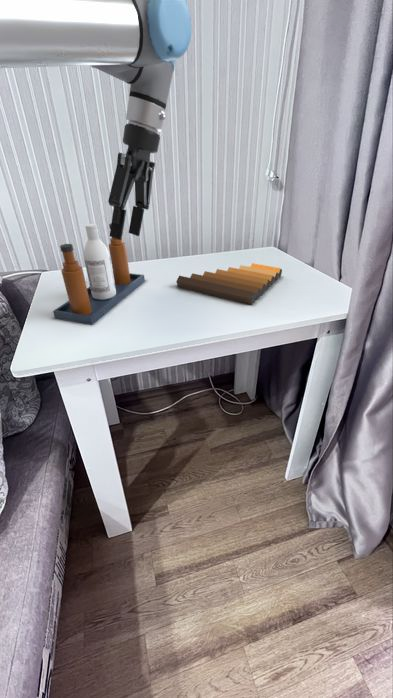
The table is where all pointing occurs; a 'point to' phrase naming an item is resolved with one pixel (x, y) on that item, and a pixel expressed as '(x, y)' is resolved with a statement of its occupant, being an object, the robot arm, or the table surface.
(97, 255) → the bath foam
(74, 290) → the amber bottle near
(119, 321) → the table surface
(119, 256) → the amber bottle far
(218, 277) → the pan flute
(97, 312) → the tray
